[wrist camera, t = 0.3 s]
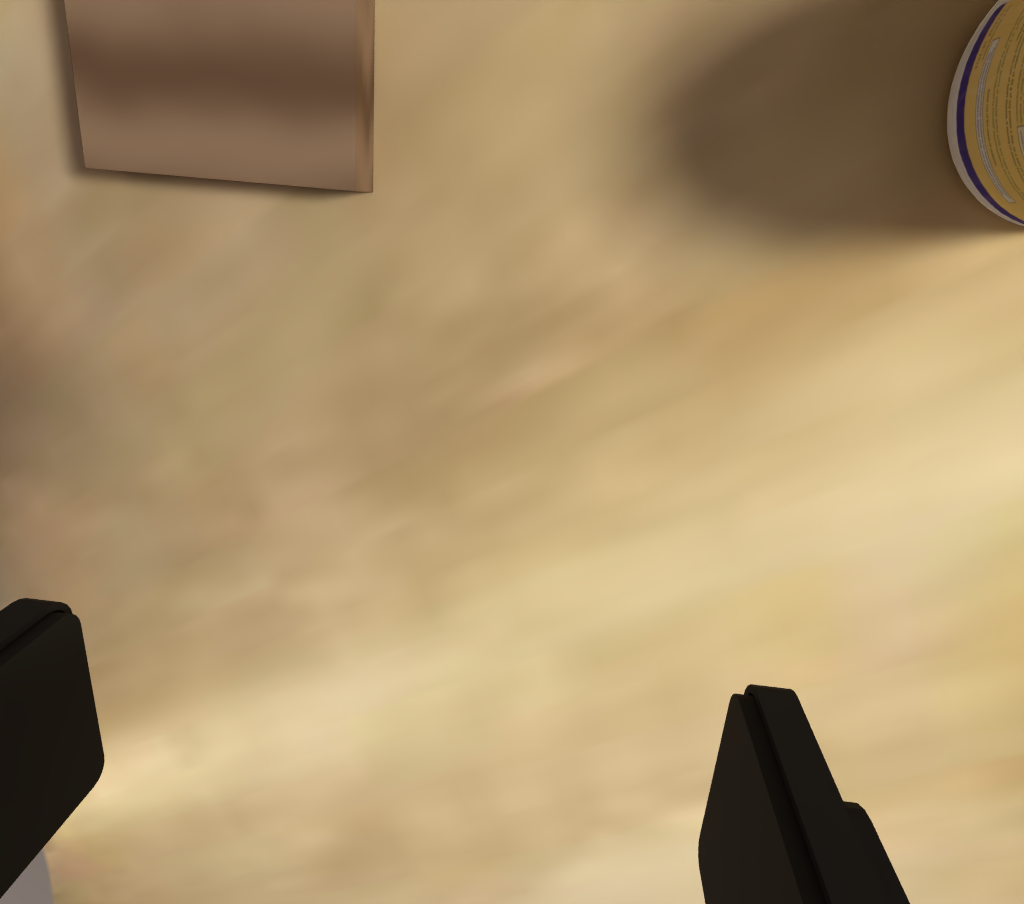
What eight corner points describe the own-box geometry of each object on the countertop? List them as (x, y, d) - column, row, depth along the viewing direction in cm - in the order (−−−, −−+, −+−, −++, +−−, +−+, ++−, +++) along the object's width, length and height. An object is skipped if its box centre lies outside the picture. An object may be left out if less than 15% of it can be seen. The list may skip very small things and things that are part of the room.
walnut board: (98, -47, 34) (55, -69, 31) (374, -29, 33) (355, -50, 30) (122, 170, 37) (85, 167, 35) (372, 192, 37) (355, 191, 34)
